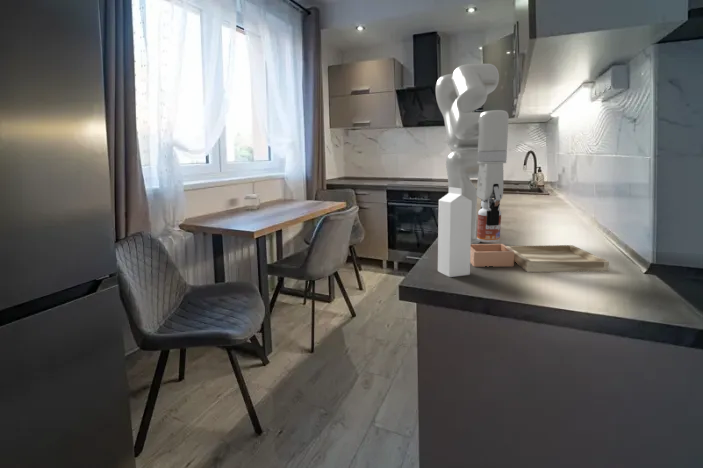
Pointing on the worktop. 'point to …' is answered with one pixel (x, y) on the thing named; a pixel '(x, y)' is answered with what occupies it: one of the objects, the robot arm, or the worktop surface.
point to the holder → (491, 255)
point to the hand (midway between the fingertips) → (489, 222)
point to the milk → (454, 233)
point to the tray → (557, 259)
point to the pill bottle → (485, 231)
